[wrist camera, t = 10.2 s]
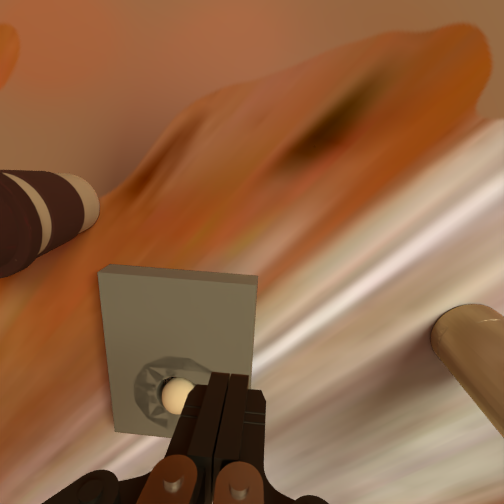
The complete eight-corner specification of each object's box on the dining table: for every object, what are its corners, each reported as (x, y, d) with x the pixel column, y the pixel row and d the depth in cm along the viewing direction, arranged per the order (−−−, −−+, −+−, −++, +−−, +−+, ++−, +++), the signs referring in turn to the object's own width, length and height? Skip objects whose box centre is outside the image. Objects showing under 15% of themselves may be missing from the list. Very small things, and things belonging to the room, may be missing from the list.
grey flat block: (257, 275, 40) (256, 285, 37) (247, 428, 48) (246, 446, 45) (109, 264, 41) (97, 272, 38) (124, 415, 49) (114, 431, 46)
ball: (197, 377, 47) (192, 367, 43) (202, 412, 44) (196, 404, 40) (165, 385, 46) (157, 376, 43) (167, 421, 43) (158, 414, 40)
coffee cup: (126, 199, 38) (36, 225, 24) (86, 254, 41) (-16, 308, 26) (59, 144, 36) (-80, 137, 22) (23, 206, 39) (-122, 234, 25)
